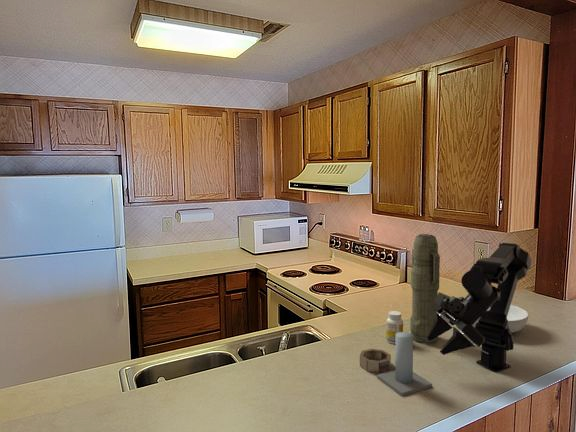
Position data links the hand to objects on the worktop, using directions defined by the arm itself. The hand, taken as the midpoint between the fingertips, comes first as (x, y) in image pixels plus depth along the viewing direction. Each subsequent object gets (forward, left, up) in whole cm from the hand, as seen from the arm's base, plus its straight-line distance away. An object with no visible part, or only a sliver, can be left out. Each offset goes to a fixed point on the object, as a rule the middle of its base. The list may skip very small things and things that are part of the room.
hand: (434, 346), depth 104 cm
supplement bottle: (-7, -25, -10) cm, 28 cm away
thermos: (-17, -22, -10) cm, 30 cm away
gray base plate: (+8, -3, -10) cm, 13 cm away
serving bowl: (-45, -18, -10) cm, 50 cm away
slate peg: (+8, -3, -9) cm, 12 cm away
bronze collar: (+9, -14, -10) cm, 19 cm away
